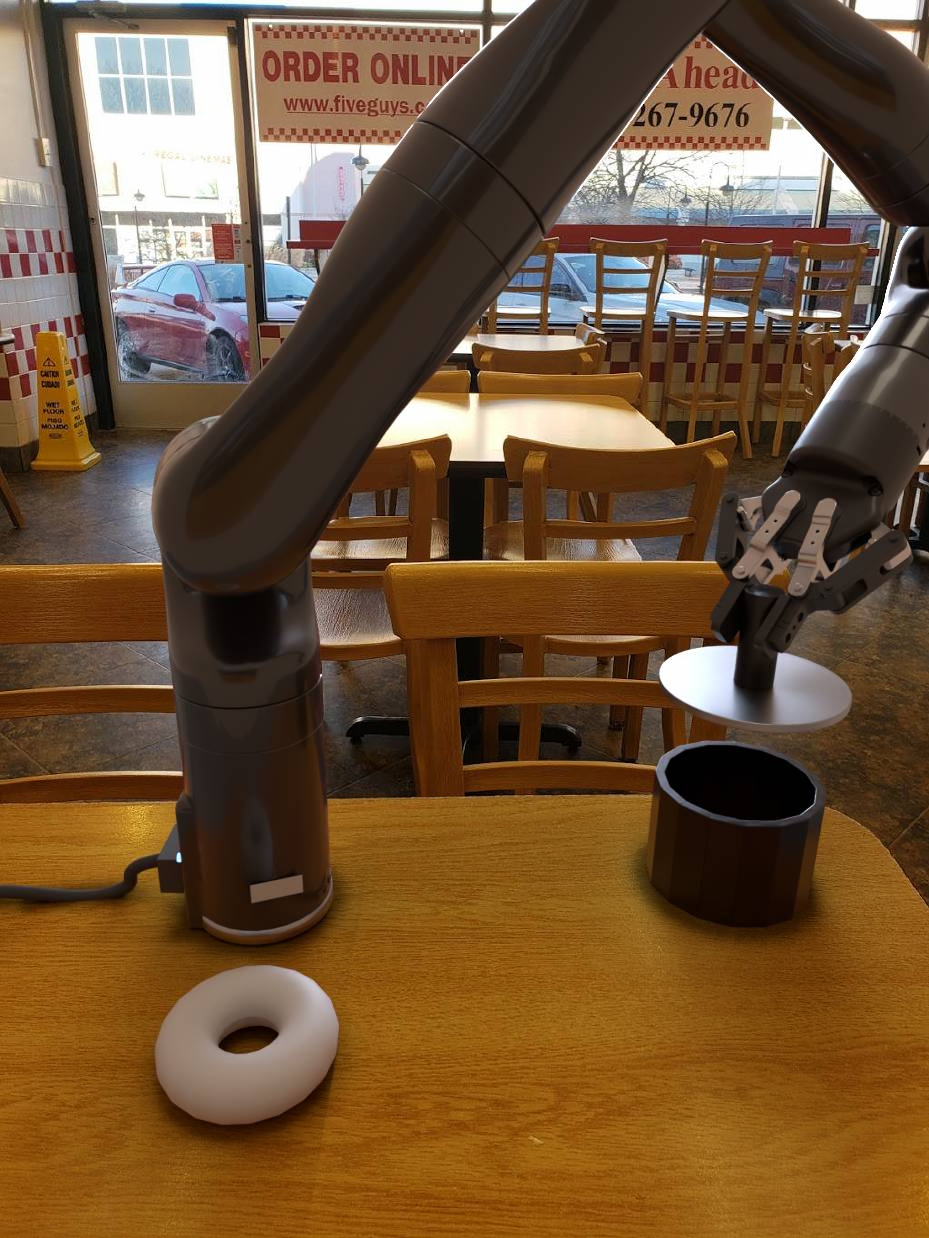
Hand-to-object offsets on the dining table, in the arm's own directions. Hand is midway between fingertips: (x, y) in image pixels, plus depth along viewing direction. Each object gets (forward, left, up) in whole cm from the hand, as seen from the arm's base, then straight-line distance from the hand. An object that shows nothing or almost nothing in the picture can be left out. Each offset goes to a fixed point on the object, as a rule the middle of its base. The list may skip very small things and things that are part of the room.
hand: (741, 643), depth 60 cm
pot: (+2, +1, -19) cm, 20 cm away
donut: (-29, -16, -20) cm, 39 cm away
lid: (+2, +1, -4) cm, 4 cm away
